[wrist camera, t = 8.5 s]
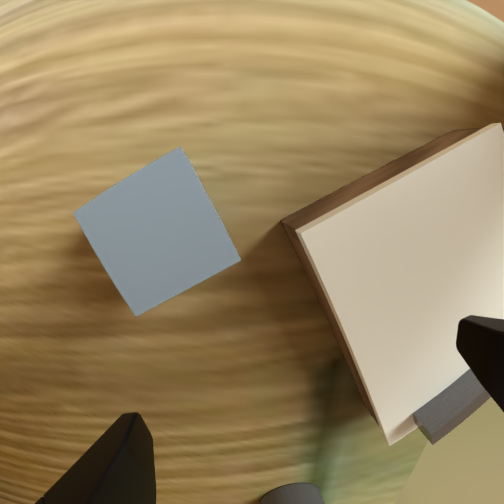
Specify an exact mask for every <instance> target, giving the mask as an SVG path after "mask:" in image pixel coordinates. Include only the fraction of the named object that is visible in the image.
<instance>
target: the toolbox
mask: <svg viewBox="0 0 504 504" xmlns="http://www.w3.org/2000/svg"><path fill="white" fill-rule="evenodd" d="M480 129H482V128H475V129H463V130H453V131H451V132H449V133H447V134H445V135H443V136H441V137H439V138H437V139H435V140H434V141H432V142H430V143H428V144H426V145H424V146H422V147H420V148H418V149H416V150H414V151H412V152H410V153H408V154H406V155H404V156H402V157H400V158H398V159H396V160H394V161H393V162H391V163H389V164H387V165H385V166H383V167H381V168H379V169H377V170H375V171H373V172H371V173H369V174H367V175H366V176H364V177H362V178H360V179H358V180H356V181H354V182H352V183H350V184H348V185H346V186H345V187H343V188H341V189H339V190H337V191H335V192H333V193H331V194H329V195H327V196H325V197H324V198H322V199H320V200H318V201H316V202H314V203H312V204H310V205H308V206H307V207H305V208H303V209H301V210H299V211H297V212H295V213H293V214H292V215H290V216H288V217H286V218H284V219H282V220H281V222H282V225H283V227H284V229H285V231H286V233H287V235H288V237H289V239H290V241H291V243H292V245H293V247H294V249H295V251H296V253H297V255H298V257H299V260H300V262H301V264H302V266H303V268H304V270H305V272H306V274H307V276H308V279H309V281H310V283H311V285H312V287H313V289H314V291H315V294H316V296H317V298H318V300H319V302H320V304H321V306H322V309H323V311H324V313H325V315H326V317H327V320H328V322H329V324H330V326H331V328H332V331H333V333H334V335H335V337H336V340H337V342H338V344H339V346H340V349H341V351H342V353H343V355H344V358H345V360H346V362H347V364H348V367H349V369H350V371H351V374H352V376H353V378H354V381H355V383H356V385H357V388H358V390H359V392H360V395H361V397H362V399H363V402H364V404H365V406H366V408H367V409H368V411H369V412H370V414H371V415H372V416H373V418H374V419H375V421H376V422H377V423H378V421H377V418H376V415H375V413H374V410H373V408H372V405H371V403H370V400H369V398H368V395H367V393H366V390H365V388H364V385H363V383H362V380H361V378H360V375H359V373H358V370H357V368H356V366H355V363H354V361H353V358H352V356H351V354H350V351H349V349H348V346H347V344H346V342H345V339H344V337H343V335H342V332H341V330H340V328H339V326H338V323H337V321H336V319H335V316H334V314H333V312H332V310H331V307H330V305H329V303H328V301H327V298H326V296H325V294H324V292H323V289H322V287H321V285H320V283H319V281H318V278H317V276H316V274H315V272H314V270H313V267H312V265H311V263H310V261H309V259H308V257H307V255H306V252H305V250H304V248H303V246H302V244H301V242H300V240H299V238H298V235H297V233H296V231H295V230H296V229H298V228H300V227H302V226H304V225H306V224H308V223H309V222H311V221H313V220H315V219H317V218H319V217H320V216H322V215H324V214H326V213H328V212H330V211H331V210H333V209H335V208H337V207H339V206H341V205H343V204H344V203H346V202H348V201H350V200H352V199H354V198H355V197H357V196H359V195H361V194H363V193H365V192H366V191H368V190H370V189H372V188H374V187H376V186H378V185H379V184H381V183H383V182H385V181H387V180H389V179H390V178H392V177H394V176H396V175H398V174H400V173H401V172H403V171H405V170H407V169H409V168H411V167H413V166H414V165H416V164H418V163H420V162H422V161H424V160H425V159H427V158H429V157H431V156H433V155H435V154H436V153H438V152H440V151H442V150H444V149H446V148H447V147H449V146H451V145H453V144H455V143H457V142H458V141H460V140H462V139H464V138H466V137H468V136H469V135H471V134H473V133H475V132H477V131H479V130H480ZM378 425H379V423H378Z"/></svg>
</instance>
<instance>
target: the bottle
mask: <svg viewBox="0 0 504 504" xmlns="http://www.w3.org/2000/svg"><path fill="white" fill-rule="evenodd" d="M260 504H325V503H324V501H323V499H322V496H321V494H320V492H319V490H318V488H317V487H316V486H315V485H312V484H308V483H295V484H289V485H285V486H282V487H279V488H276V489H274V490H272V491H270V492H269V493H267V494H266V495H265V496H264V497H263V498H262V499H261V501H260Z"/></svg>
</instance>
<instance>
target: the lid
mask: <svg viewBox="0 0 504 504" xmlns="http://www.w3.org/2000/svg"><path fill="white" fill-rule="evenodd" d="M295 231H296V233H297V235H298V238H299V240H300V242H301V244H302V246H303V248H304V250H305V252H306V255H307V257H308V259H309V261H310V263H311V265H312V267H313V270H314V272H315V274H316V276H317V278H318V281H319V283H320V285H321V287H322V289H323V292H324V294H325V296H326V298H327V301H328V303H329V305H330V307H331V310H332V312H333V314H334V316H335V319H336V321H337V323H338V326H339V328H340V330H341V332H342V335H343V337H344V339H345V342H346V344H347V346H348V349H349V351H350V354H351V356H352V358H353V361H354V363H355V366H356V368H357V370H358V373H359V375H360V378H361V380H362V383H363V385H364V388H365V390H366V393H367V395H368V398H369V400H370V403H371V405H372V408H373V410H374V413H375V415H376V418H377V421H378V423H379V426H380V428H381V431H382V434H383V436H384V439H385V440H386V442H387V443H388V445H389V446H390V445H392V444H393V443H395V442H397V441H398V440H400V439H401V438H403V437H404V436H406V435H407V434H409V433H410V432H412V431H413V430H415V429H416V428H419V429H420V430H421V432H422V433H423V434H424V435H425V436H426V438H427V439H428V440H429V441H430V442H431V444H434V443H436V442H437V441H438V440H440V439H441V438H442V437H444V436H445V435H446V434H448V433H449V432H450V431H451V430H453V429H454V428H455V427H456V426H458V425H459V424H460V423H462V422H463V421H464V420H465V419H466V418H467V417H469V416H470V415H471V414H472V413H473V412H475V411H476V410H477V409H478V408H479V407H480V406H481V405H482V404H484V403H485V402H486V401H487V400H488V399H489V398H490V397H491V396H490V395H489V394H488V392H487V391H486V390H485V389H484V387H483V386H482V385H481V383H480V382H479V381H478V379H477V378H476V376H475V375H474V373H473V372H472V370H471V369H470V368H469V366H468V365H467V363H466V362H465V360H464V359H463V358H462V356H461V355H460V353H459V352H458V350H457V348H456V338H457V330H458V323H459V321H460V320H461V319H462V318H465V317H467V316H469V315H475V316H482V317H490V318H497V319H504V132H503V129H502V125H501V123H491V124H490V125H488V126H486V127H484V128H482V129H480V130H479V131H477V132H475V133H473V134H471V135H469V136H468V137H466V138H464V139H462V140H460V141H458V142H457V143H455V144H453V145H451V146H449V147H447V148H446V149H444V150H442V151H440V152H438V153H436V154H435V155H433V156H431V157H429V158H427V159H425V160H424V161H422V162H420V163H418V164H416V165H414V166H413V167H411V168H409V169H407V170H405V171H403V172H401V173H400V174H398V175H396V176H394V177H392V178H390V179H389V180H387V181H385V182H383V183H381V184H379V185H378V186H376V187H374V188H372V189H370V190H368V191H366V192H365V193H363V194H361V195H359V196H357V197H355V198H354V199H352V200H350V201H348V202H346V203H344V204H343V205H341V206H339V207H337V208H335V209H333V210H331V211H330V212H328V213H326V214H324V215H322V216H320V217H319V218H317V219H315V220H313V221H311V222H309V223H308V224H306V225H304V226H302V227H300V228H298V229H296V230H295Z"/></svg>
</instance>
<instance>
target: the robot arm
mask: <svg viewBox="0 0 504 504" xmlns="http://www.w3.org/2000/svg"><path fill="white" fill-rule="evenodd" d="M456 348H457V350H458V352H459V353H460V355H461V356H462V358H463V359H464V360H465V362H466V363H467V365H468V366H469V368H470V369H471V370H472V372H473V373H474V375H475V376H476V378H477V379H478V381H479V382H480V383H481V385H482V386H483V387H484V389H485V390H486V391H487V392H488V394H489V395H490V396H491V397H492V398H493V400H494V401H495V402H496V403H497V404H498V406H499V407H500V408H501V409H502V411H503V412H504V319H497V318H490V317H482V316H475V315H469V316H467V317H465V318H462V319H461V320H460V321H459V323H458V330H457V338H456ZM35 504H156V479H155V467H154V451H153V439H152V435H151V433H150V431H149V429H148V428H147V426H146V424H145V422H144V420H143V419H142V417H141V415H140V414H139V413H137V412H132V413H124V414H122V415H121V416H120V417H119V418H118V419H117V420H116V421H115V422H114V423H113V424H112V425H111V427H110V428H109V429H108V430H107V431H106V432H105V433H104V434H103V435H102V436H101V437H100V438H99V439H98V440H97V441H96V442H95V443H94V444H93V445H92V446H91V447H90V448H89V449H88V450H87V451H86V452H85V453H84V454H83V455H82V456H81V458H80V459H79V460H78V461H77V462H76V463H75V464H74V465H73V466H72V467H71V468H70V469H69V470H68V471H67V472H66V473H65V474H64V475H63V476H62V477H61V478H60V479H59V480H58V481H57V482H56V483H55V484H54V485H53V486H52V487H51V488H50V489H49V490H48V491H47V492H46V493H45V494H44V497H41V498H40V499H39V500H38V501H37V502H36V503H35Z"/></svg>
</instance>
